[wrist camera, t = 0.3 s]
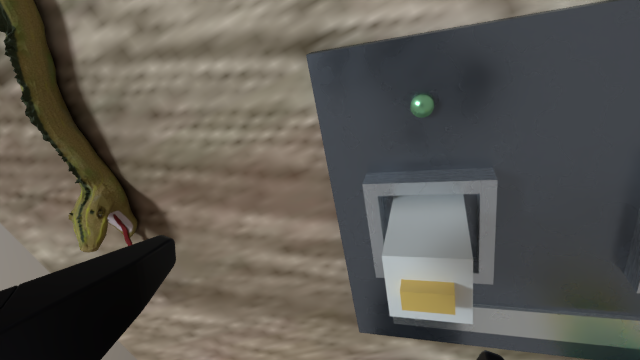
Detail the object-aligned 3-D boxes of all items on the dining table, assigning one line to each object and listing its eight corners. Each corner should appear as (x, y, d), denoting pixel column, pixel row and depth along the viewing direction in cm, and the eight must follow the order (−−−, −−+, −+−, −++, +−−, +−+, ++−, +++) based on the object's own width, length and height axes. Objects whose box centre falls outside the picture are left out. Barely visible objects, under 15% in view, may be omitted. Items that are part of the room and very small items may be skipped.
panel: (744, 363, 21) (780, 404, 19) (361, 322, 29) (355, 348, 27) (963, -62, 12) (1082, -75, 9) (311, 52, 20) (297, 58, 18)
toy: (122, 239, 34) (77, 274, 29) (-64, -125, 22) (-185, -155, 17) (157, 241, 32) (115, 278, 28) (-21, -149, 20) (-142, -188, 16)
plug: (463, 247, 22) (474, 338, 16) (399, 245, 23) (388, 328, 17) (462, 192, 20) (475, 272, 14) (394, 194, 21) (379, 267, 15)
